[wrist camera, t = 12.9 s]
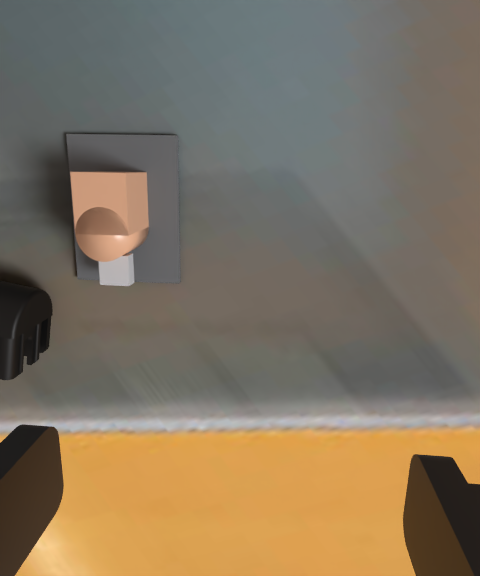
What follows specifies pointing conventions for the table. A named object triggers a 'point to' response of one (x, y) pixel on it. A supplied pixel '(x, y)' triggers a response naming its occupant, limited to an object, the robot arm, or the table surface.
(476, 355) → the table surface
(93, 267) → the mat
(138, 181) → the plug
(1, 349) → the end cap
